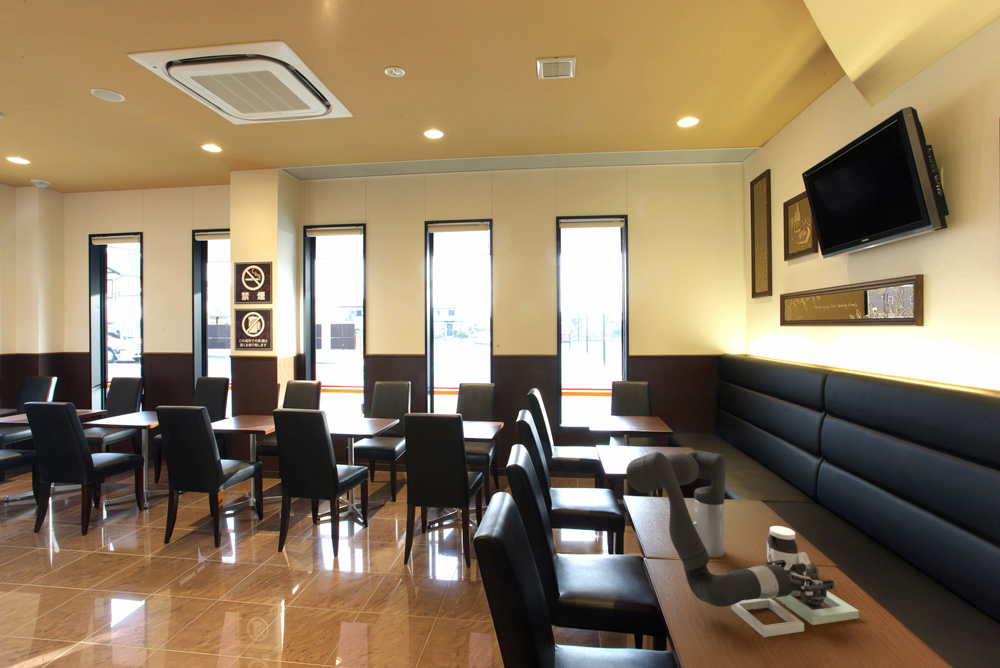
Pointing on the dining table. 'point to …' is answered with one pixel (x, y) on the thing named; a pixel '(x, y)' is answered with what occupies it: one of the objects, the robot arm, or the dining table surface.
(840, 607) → the light green square frame
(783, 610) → the white square frame
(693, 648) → the dining table surface
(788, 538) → the spread jar
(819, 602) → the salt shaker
